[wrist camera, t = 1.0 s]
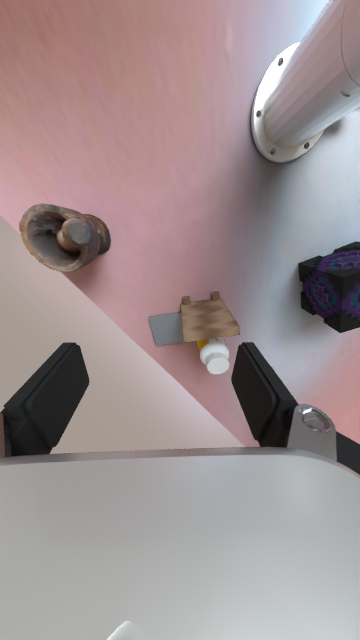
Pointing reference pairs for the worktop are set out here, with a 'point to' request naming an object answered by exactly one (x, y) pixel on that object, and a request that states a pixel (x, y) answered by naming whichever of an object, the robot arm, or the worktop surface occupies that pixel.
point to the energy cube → (333, 287)
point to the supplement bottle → (214, 354)
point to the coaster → (167, 328)
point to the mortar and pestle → (63, 236)
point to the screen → (207, 319)
